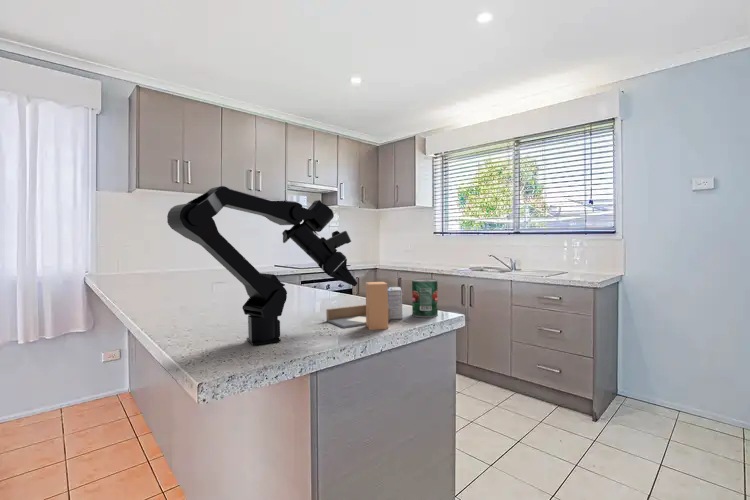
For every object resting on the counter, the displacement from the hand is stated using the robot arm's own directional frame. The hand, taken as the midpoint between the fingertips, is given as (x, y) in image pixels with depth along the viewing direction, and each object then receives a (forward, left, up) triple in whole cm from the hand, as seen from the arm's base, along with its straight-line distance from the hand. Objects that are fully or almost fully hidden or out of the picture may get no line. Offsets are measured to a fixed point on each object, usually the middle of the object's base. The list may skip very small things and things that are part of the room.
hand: (353, 282), depth 107 cm
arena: (+5, +7, -12) cm, 15 cm away
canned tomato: (+27, +3, -12) cm, 30 cm away
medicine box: (+18, +7, -12) cm, 23 cm away
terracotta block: (+6, -2, -12) cm, 14 cm away
